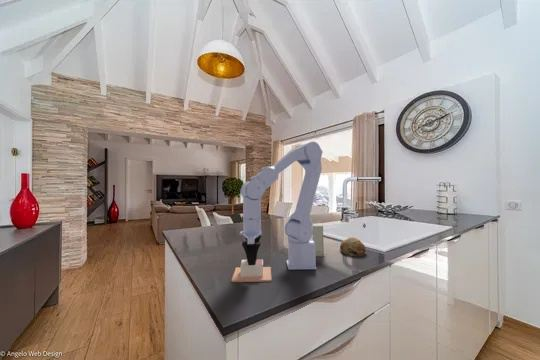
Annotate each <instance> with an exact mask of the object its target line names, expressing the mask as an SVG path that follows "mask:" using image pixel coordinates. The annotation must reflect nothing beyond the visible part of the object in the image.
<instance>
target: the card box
mask: <svg viewBox="0 0 540 360" xmlns="http://www.w3.org/2000/svg"><path fill="white" fill-rule="evenodd" d="M240 267H241V277H253V276H263V267H264V259H263V258H262V259H260V258H258V259H257V258H256V264H255V265H248V262H247V259H241V262H240Z"/></svg>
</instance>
